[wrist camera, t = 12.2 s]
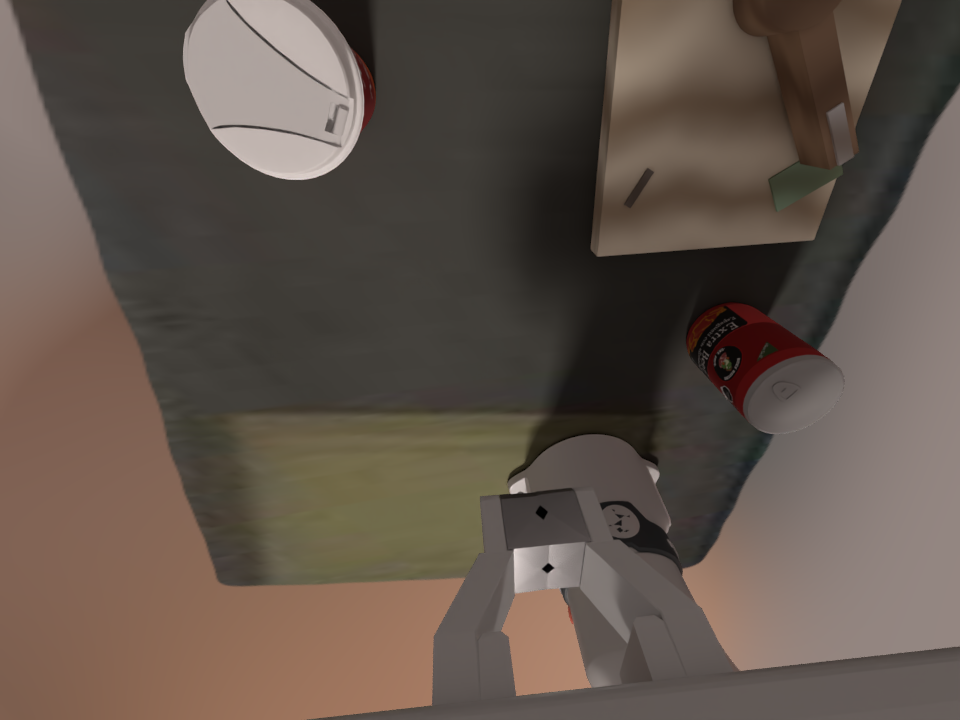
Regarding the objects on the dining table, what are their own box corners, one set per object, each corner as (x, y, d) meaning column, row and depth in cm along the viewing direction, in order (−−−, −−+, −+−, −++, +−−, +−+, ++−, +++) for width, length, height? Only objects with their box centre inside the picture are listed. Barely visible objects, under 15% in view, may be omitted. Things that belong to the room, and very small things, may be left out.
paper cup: (405, 56, 30) (381, 33, 18) (374, 167, 33) (336, 209, 21) (288, -3, 28) (173, -74, 16) (268, 122, 31) (162, 141, 19)
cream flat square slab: (800, 233, 39) (818, 240, 37) (590, 249, 38) (598, 257, 36) (906, -73, 28) (939, -85, 26) (617, -58, 27) (630, -69, 25)
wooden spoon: (722, -26, 27) (757, -40, 24) (803, -90, 25) (850, -113, 22) (781, 176, 33) (813, 184, 30) (847, 133, 32) (887, 138, 29)
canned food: (707, 292, 41) (785, 350, 32) (775, 309, 43) (868, 369, 34) (669, 358, 45) (728, 427, 36) (733, 371, 47) (805, 441, 37)
